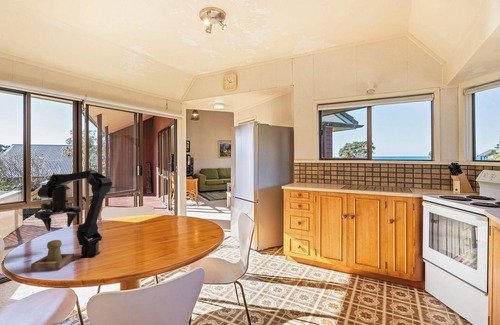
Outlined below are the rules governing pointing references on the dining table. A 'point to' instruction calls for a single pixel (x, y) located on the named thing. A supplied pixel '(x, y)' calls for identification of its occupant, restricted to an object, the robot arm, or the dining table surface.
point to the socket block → (52, 263)
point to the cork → (54, 251)
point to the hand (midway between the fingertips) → (58, 228)
